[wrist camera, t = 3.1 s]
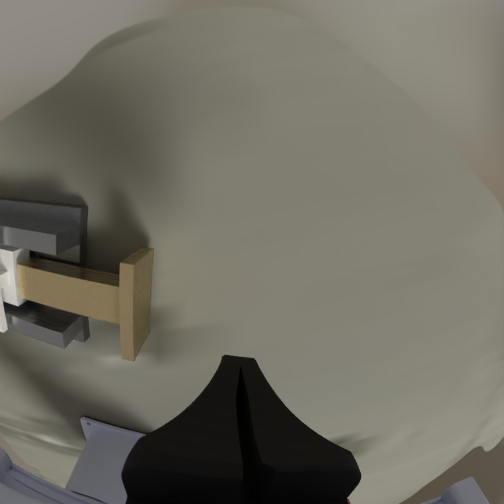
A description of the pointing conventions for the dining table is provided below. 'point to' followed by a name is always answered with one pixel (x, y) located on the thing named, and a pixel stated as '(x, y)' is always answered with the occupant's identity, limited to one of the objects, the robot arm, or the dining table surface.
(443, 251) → the dining table surface
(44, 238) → the gauge frame
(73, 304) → the wooden t-shaped block
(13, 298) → the pointer
